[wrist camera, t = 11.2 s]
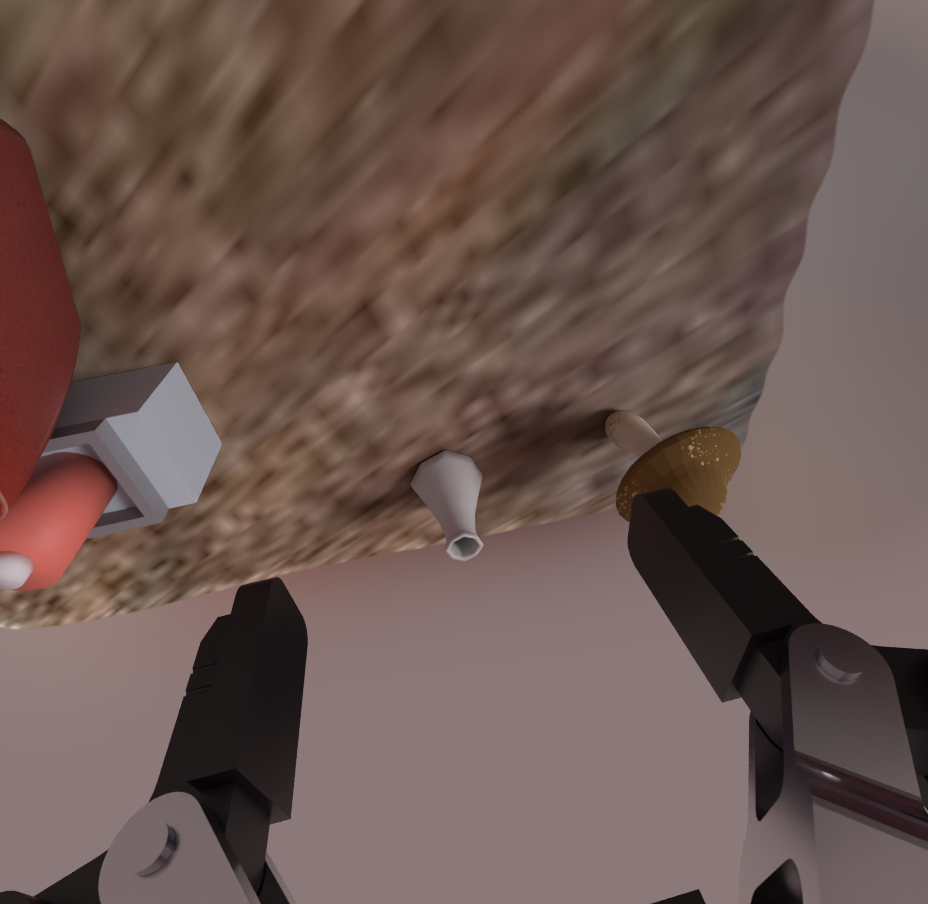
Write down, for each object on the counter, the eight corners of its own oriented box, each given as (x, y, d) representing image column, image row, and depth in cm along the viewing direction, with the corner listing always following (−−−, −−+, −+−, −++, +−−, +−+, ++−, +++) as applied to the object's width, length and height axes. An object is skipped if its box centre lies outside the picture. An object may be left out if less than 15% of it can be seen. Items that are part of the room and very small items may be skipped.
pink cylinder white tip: (18, 461, 30) (-81, 560, 23) (90, 445, 30) (13, 538, 23) (66, 511, 32) (-11, 613, 26) (131, 496, 33) (73, 592, 26)
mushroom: (683, 414, 49) (790, 506, 37) (591, 473, 51) (663, 578, 39) (654, 351, 44) (768, 434, 31) (553, 420, 46) (623, 522, 34)
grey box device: (11, 393, 35) (-86, 466, 27) (177, 361, 36) (128, 423, 28) (77, 474, 40) (10, 555, 32) (222, 443, 40) (190, 516, 33)
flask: (444, 437, 45) (463, 504, 37) (493, 472, 48) (521, 540, 40) (397, 484, 47) (405, 557, 39) (447, 514, 51) (464, 586, 43)
